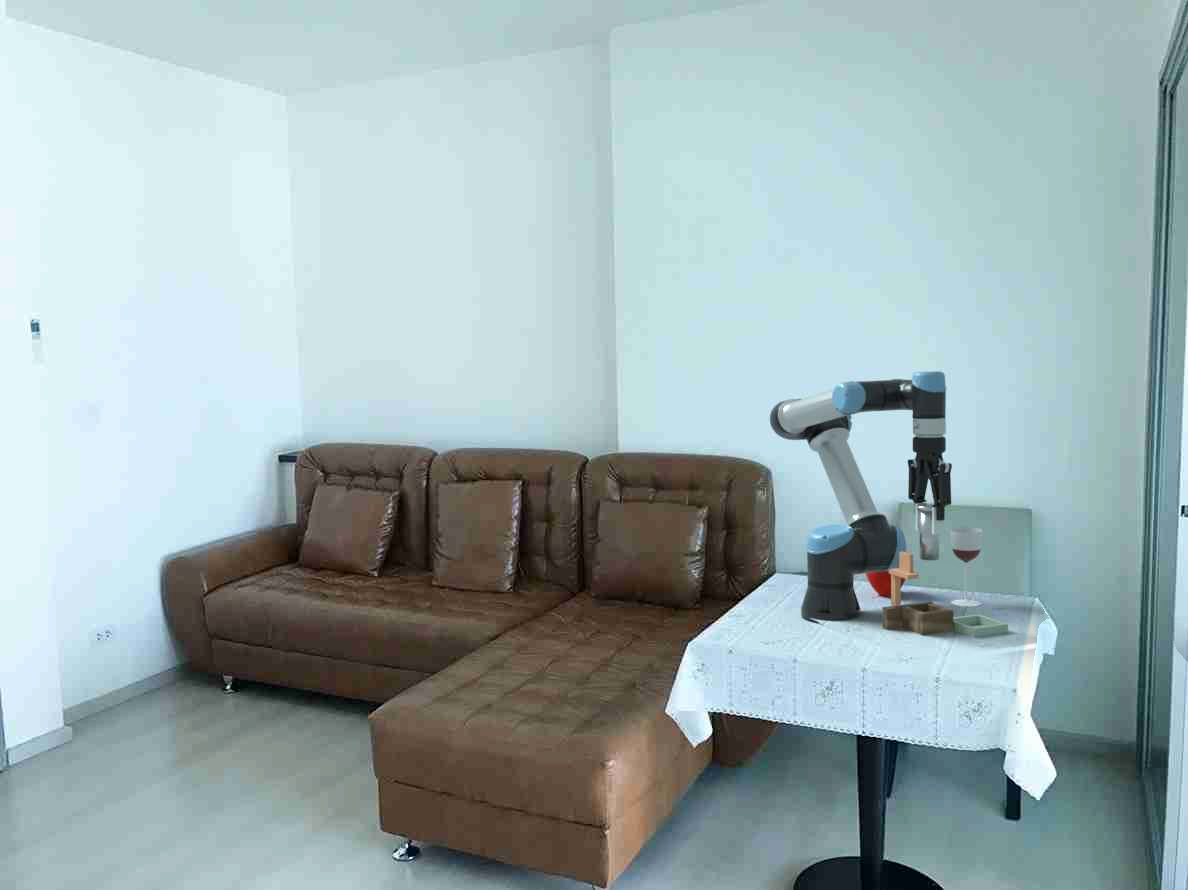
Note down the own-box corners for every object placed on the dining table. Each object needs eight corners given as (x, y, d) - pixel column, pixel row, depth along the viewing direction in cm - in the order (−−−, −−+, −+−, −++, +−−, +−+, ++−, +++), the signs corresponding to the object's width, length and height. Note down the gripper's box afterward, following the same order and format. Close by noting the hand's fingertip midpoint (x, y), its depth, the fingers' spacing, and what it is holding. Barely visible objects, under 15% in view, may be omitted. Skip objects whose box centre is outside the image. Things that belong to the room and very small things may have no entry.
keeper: (888, 605, 239) (888, 551, 238) (899, 603, 240) (898, 550, 239) (908, 612, 232) (908, 557, 231) (918, 611, 233) (918, 555, 232)
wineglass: (945, 603, 264) (945, 530, 262) (958, 597, 270) (958, 526, 268) (974, 608, 258) (974, 533, 256) (987, 601, 265) (987, 529, 263)
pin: (912, 557, 238) (912, 504, 237) (931, 555, 239) (931, 503, 238) (927, 561, 232) (926, 507, 231) (946, 559, 234) (946, 505, 233)
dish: (945, 630, 239) (945, 618, 239) (978, 625, 242) (978, 614, 242) (973, 641, 229) (973, 629, 229) (1007, 636, 233) (1007, 624, 232)
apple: (889, 587, 283) (889, 542, 282) (917, 596, 273) (917, 549, 272) (856, 592, 279) (856, 546, 278) (884, 601, 268) (884, 553, 267)
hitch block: (882, 632, 239) (882, 607, 239) (928, 625, 244) (928, 601, 243) (906, 641, 231) (906, 616, 230) (953, 634, 235) (953, 609, 235)
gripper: (892, 434, 241) (892, 527, 243) (941, 439, 224) (941, 539, 225) (917, 432, 243) (918, 524, 245) (968, 437, 226) (968, 536, 228)
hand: (929, 531), depth 235 cm, fingers closed on pin, 6 cm apart
